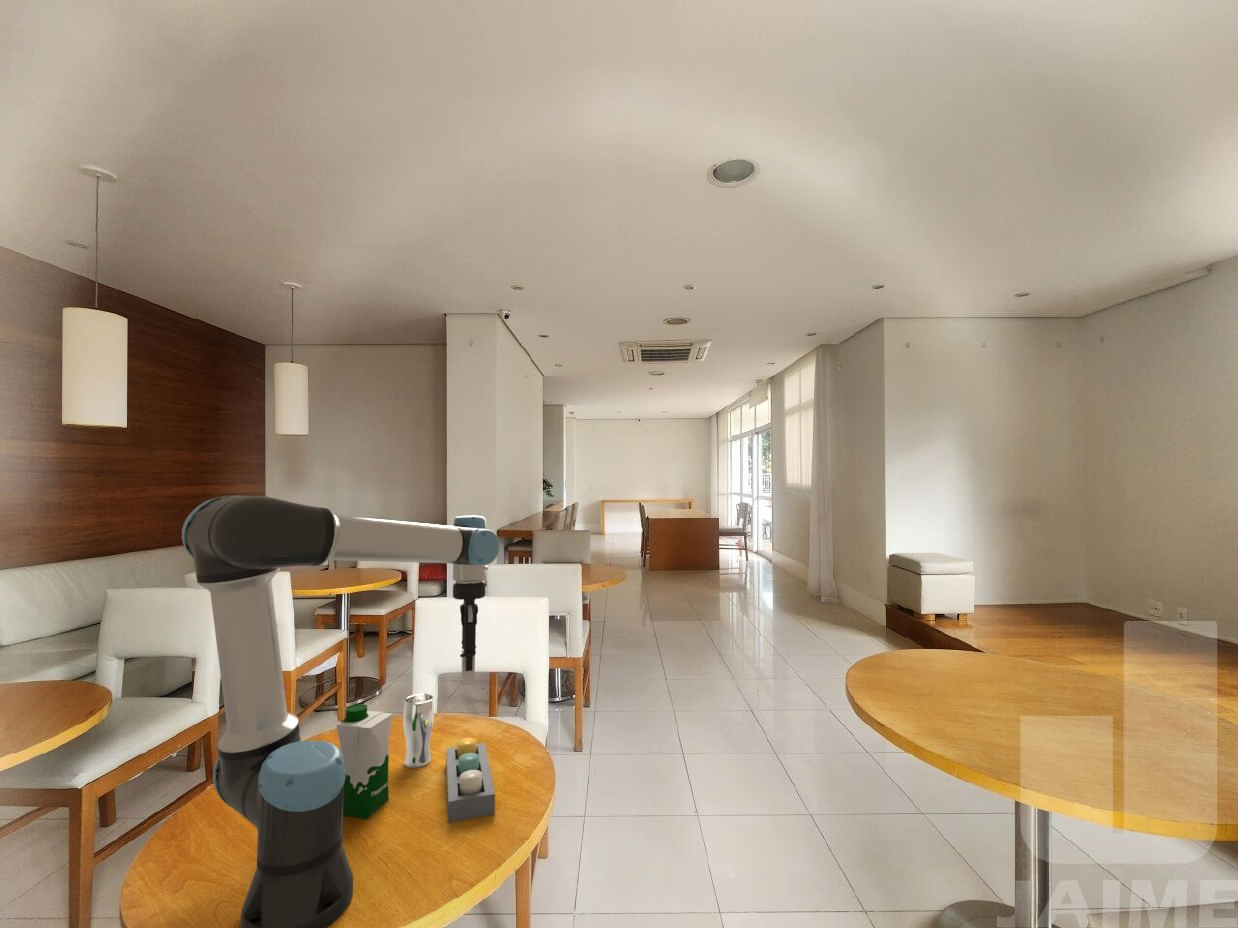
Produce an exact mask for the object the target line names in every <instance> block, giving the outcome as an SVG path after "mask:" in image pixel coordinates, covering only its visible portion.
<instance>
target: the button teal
mask: <svg viewBox="0 0 1238 928" xmlns="http://www.w3.org/2000/svg"><path fill="white" fill-rule="evenodd" d="M468 770H479V755H478V754H476V753H466V754H463V755H461V756H460V757H459V763H458V775H459V776H460V775H461V774H462V773H463V772H465V771H468Z"/></svg>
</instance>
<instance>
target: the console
mask: <svg viewBox="0 0 1238 928" xmlns="http://www.w3.org/2000/svg"><path fill="white" fill-rule="evenodd" d="M486 745H487V744H486V742H481V743H477V754H478V755H479V771H481V772H482V791H481V793H476V794H470V795H464V796H461V795H460V776H459V775H458V763H459V759H457V746H453V747H446V748H445V750H446V751H445V753H446V754H445V755H446V756H445V757H446V758H445V761H446V762H445V767H446V772H445V773H446V797H447V799H446V800H447V824H449V823H454V822H460V821H464V820H465V821H466V820H471V819H476V818H477V819H478V818H483V817H487V816H488V817H489V816H492V815H495V814H496V792H495V788H494V781H493V776H492V772H491V767H490V762H489V756H488V751H487V746H486Z"/></svg>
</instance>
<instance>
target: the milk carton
mask: <svg viewBox="0 0 1238 928" xmlns="http://www.w3.org/2000/svg"><path fill="white" fill-rule="evenodd" d="M393 714H394V713H391V712H390V713H388V712H383V711H375V710H374V711H372V710H368V706H367V704H364V703H363V704H362V703H360V704H353V705H351V706H348V707H346V708H345V718H343V720H341V721H340V722H339V723H337V724H336V730H337V735H338V739H339V749H340V750H341V752H342V754H343V758H344V767H345V782H344V804H343V817H349V818H357V819H363V820H364V819H365V820H368V819H369V818H371V816H373V815H374V814H375V813H376V812H377V811H378V810H380V809H381V808H382V807H383V806H384V805H385V804H386V803H387V802H389V800H390V799H389V798H390V797H389V762H390V761H389V756H390V755H389V754H390V753H389V752H390V734H391V728H392V727H391V726H392V721H393Z"/></svg>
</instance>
